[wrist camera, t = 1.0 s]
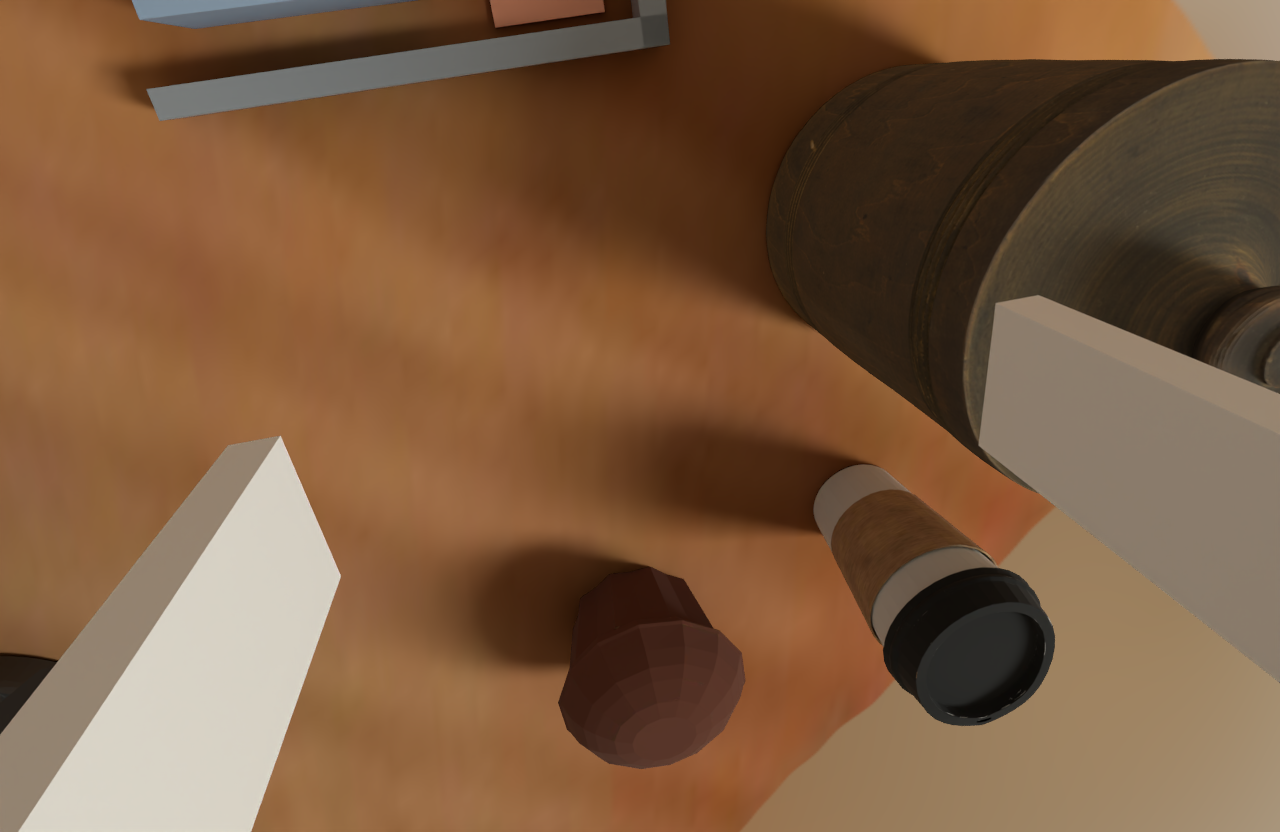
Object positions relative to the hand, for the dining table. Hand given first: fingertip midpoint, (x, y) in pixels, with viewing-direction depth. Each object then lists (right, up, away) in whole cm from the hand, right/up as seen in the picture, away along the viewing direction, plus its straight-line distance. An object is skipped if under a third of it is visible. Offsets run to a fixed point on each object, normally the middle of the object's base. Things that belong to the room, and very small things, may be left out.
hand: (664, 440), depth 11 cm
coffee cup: (+14, -5, +35) cm, 38 cm away
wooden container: (+14, +12, +27) cm, 32 cm away
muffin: (-1, -14, +37) cm, 39 cm away
